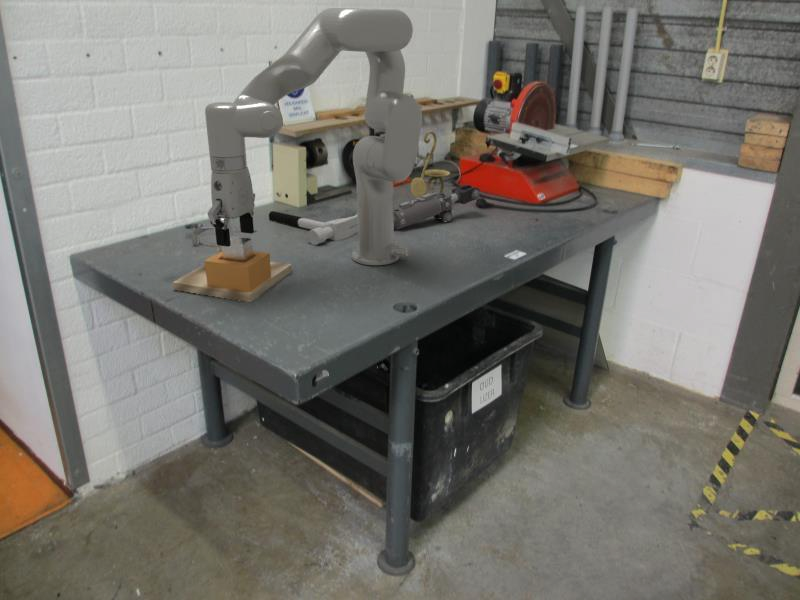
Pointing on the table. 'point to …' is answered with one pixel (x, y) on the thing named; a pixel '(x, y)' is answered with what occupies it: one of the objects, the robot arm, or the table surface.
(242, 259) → the grey upright block
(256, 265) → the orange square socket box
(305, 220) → the claw hammer
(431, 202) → the hydraulic cylinder
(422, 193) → the wall sconce
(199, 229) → the grey small pieces
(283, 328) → the table surface
